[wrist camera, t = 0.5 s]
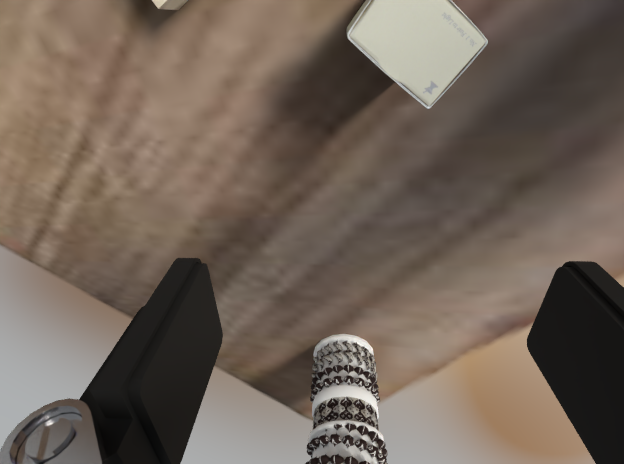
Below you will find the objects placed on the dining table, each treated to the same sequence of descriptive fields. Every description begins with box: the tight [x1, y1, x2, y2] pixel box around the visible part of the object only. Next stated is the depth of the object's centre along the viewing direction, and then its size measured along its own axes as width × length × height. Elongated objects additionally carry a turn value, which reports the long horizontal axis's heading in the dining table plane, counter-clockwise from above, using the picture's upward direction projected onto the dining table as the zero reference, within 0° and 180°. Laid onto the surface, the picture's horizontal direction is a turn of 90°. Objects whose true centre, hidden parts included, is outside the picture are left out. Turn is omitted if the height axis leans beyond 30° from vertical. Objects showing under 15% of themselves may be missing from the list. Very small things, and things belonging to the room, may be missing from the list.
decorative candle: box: [306, 334, 388, 464], centre depth 38 cm, size 9×9×25 cm
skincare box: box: [346, 0, 488, 109], centre depth 23 cm, size 6×4×12 cm
